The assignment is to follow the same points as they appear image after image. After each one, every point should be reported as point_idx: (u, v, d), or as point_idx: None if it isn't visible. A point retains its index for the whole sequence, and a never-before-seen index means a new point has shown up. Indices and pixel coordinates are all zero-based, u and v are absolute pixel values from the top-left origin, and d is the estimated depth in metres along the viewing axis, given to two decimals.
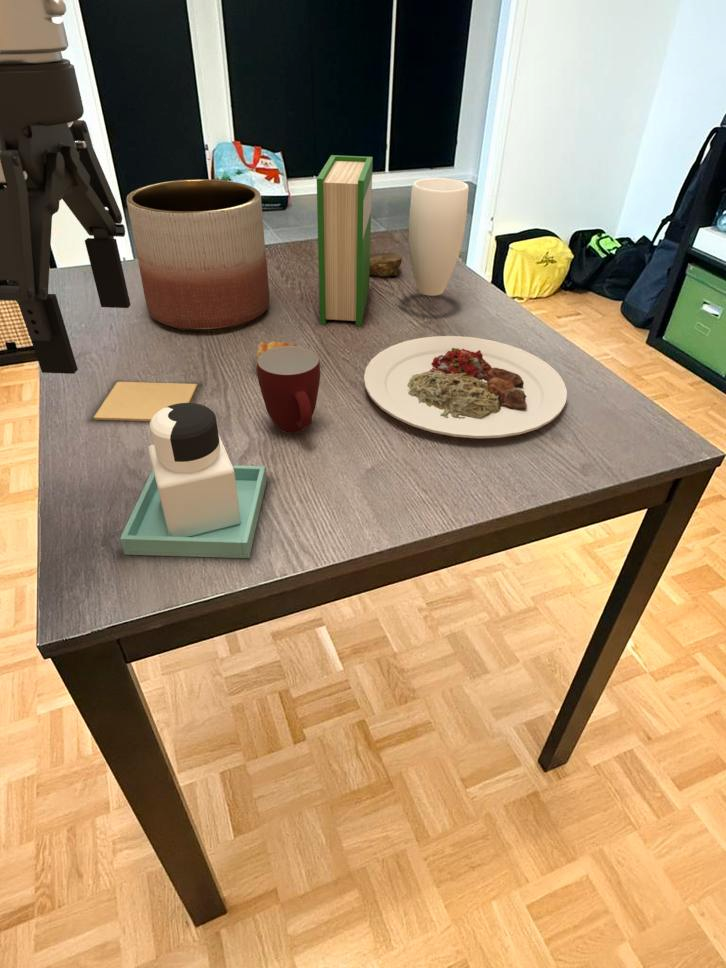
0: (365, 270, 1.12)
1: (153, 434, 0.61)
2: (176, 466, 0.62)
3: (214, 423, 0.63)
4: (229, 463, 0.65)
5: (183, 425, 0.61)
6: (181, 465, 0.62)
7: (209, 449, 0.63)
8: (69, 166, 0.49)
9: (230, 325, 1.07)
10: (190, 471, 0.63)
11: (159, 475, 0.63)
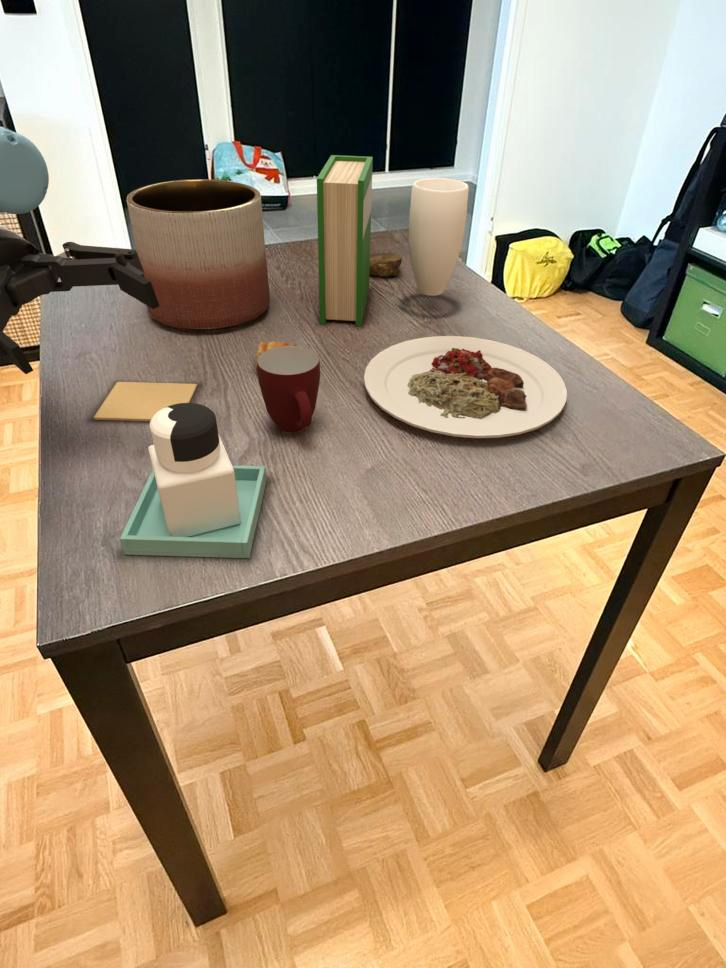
0: (365, 270, 1.12)
1: (153, 434, 0.61)
2: (176, 466, 0.62)
3: (214, 423, 0.63)
4: (229, 463, 0.65)
5: (183, 425, 0.61)
6: (181, 465, 0.62)
7: (209, 449, 0.63)
8: None
9: (230, 325, 1.07)
10: (190, 471, 0.63)
11: (159, 475, 0.63)
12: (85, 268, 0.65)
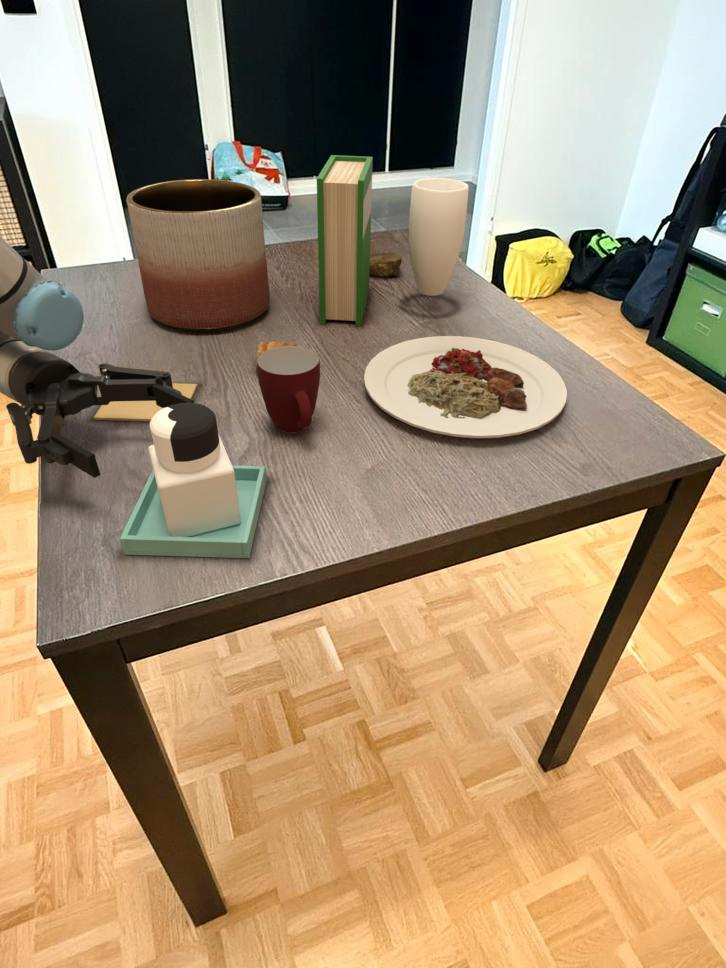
0: (365, 270, 1.12)
1: (153, 434, 0.61)
2: (176, 466, 0.62)
3: (214, 423, 0.63)
4: (229, 463, 0.65)
5: (183, 425, 0.61)
6: (181, 465, 0.62)
7: (209, 449, 0.63)
8: None
9: (230, 325, 1.07)
10: (190, 471, 0.63)
11: (159, 475, 0.63)
12: (126, 387, 0.76)
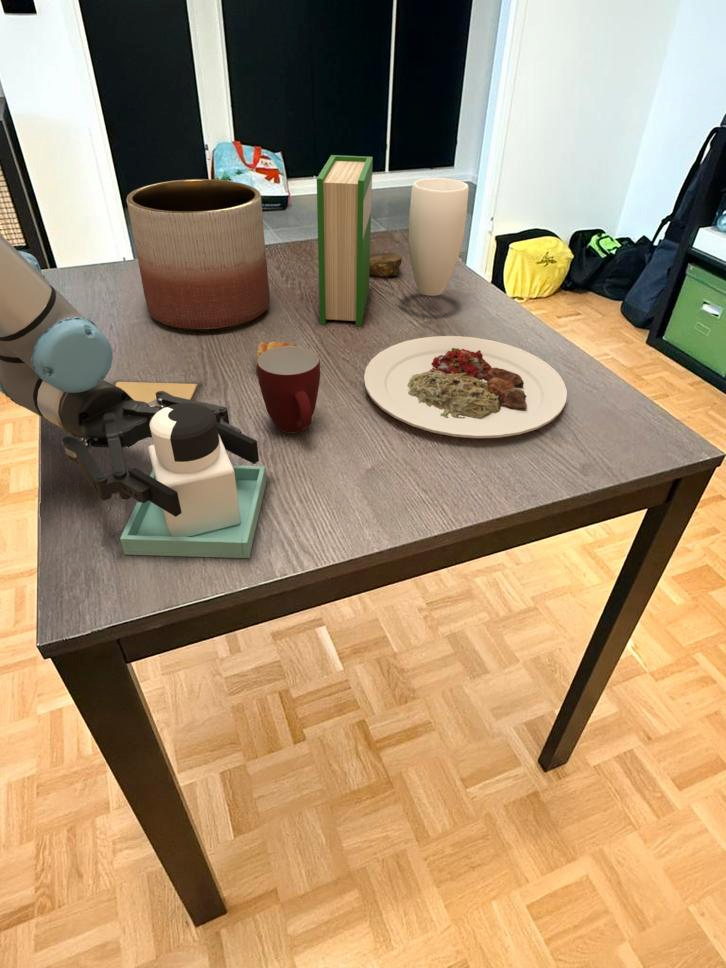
0: (365, 270, 1.12)
1: (153, 434, 0.61)
2: (176, 466, 0.62)
3: (214, 423, 0.63)
4: (229, 463, 0.65)
5: (183, 425, 0.61)
6: (181, 465, 0.62)
7: (209, 449, 0.63)
8: None
9: (230, 325, 1.07)
10: (190, 471, 0.63)
11: (159, 475, 0.63)
12: None
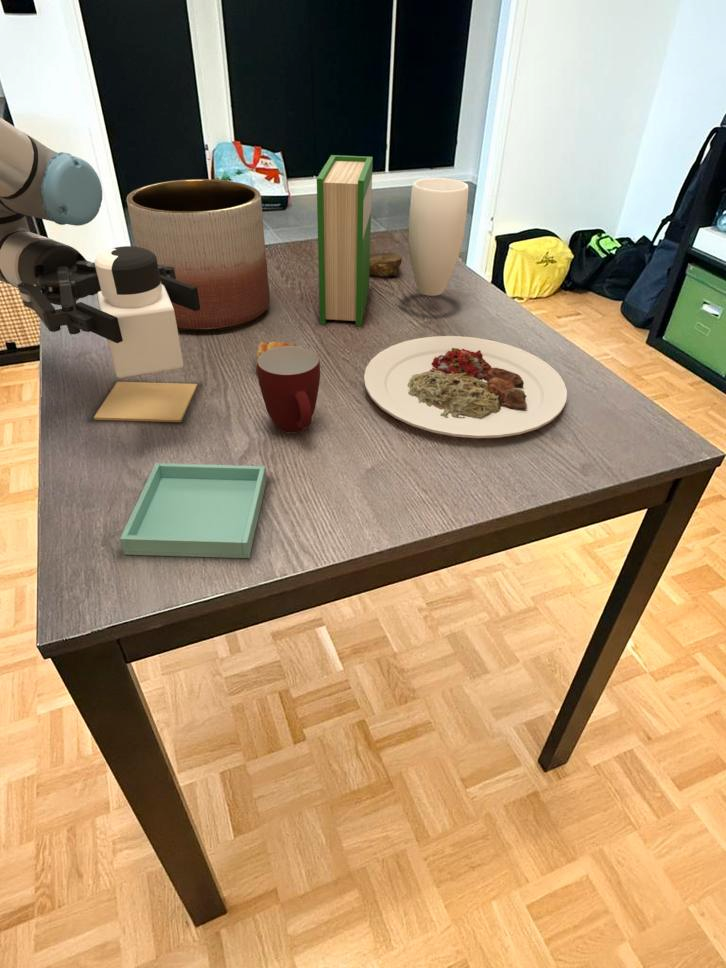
0: (365, 270, 1.12)
1: (97, 268, 0.67)
2: (119, 300, 0.68)
3: (154, 261, 0.68)
4: (169, 303, 0.70)
5: (124, 258, 0.67)
6: (123, 298, 0.68)
7: (149, 286, 0.68)
8: None
9: (230, 325, 1.07)
10: (132, 306, 0.69)
11: (104, 309, 0.69)
12: None
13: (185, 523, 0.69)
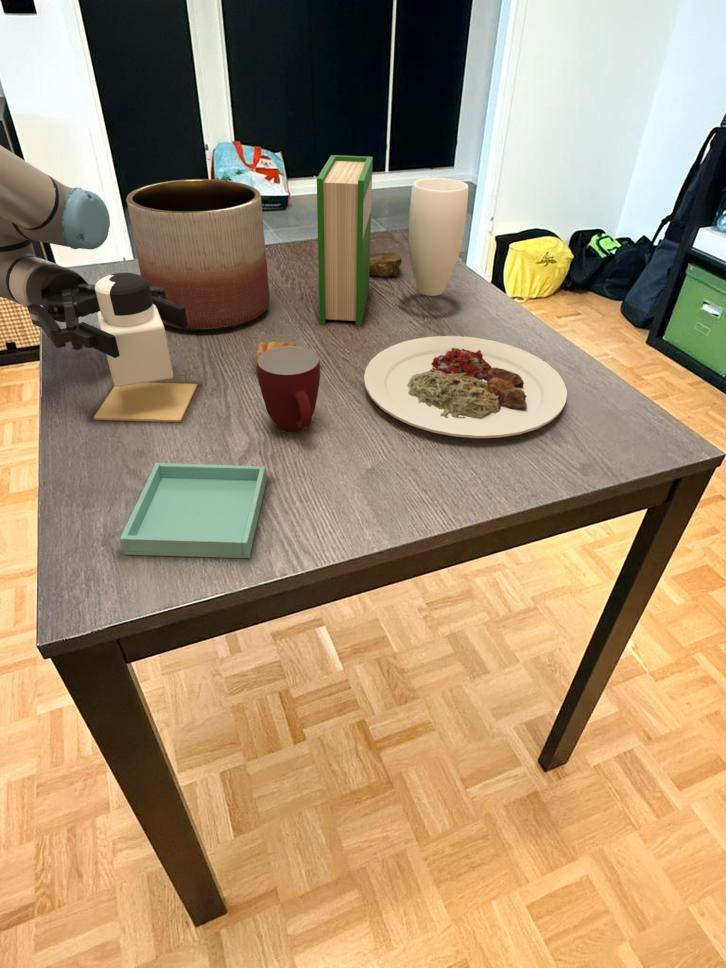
0: (365, 270, 1.12)
1: (97, 292, 0.77)
2: (116, 320, 0.78)
3: (146, 286, 0.79)
4: (160, 322, 0.81)
5: (120, 284, 0.77)
6: (120, 319, 0.78)
7: (142, 307, 0.79)
8: None
9: (230, 325, 1.07)
10: (128, 325, 0.79)
11: (103, 328, 0.79)
12: None
13: (185, 523, 0.69)
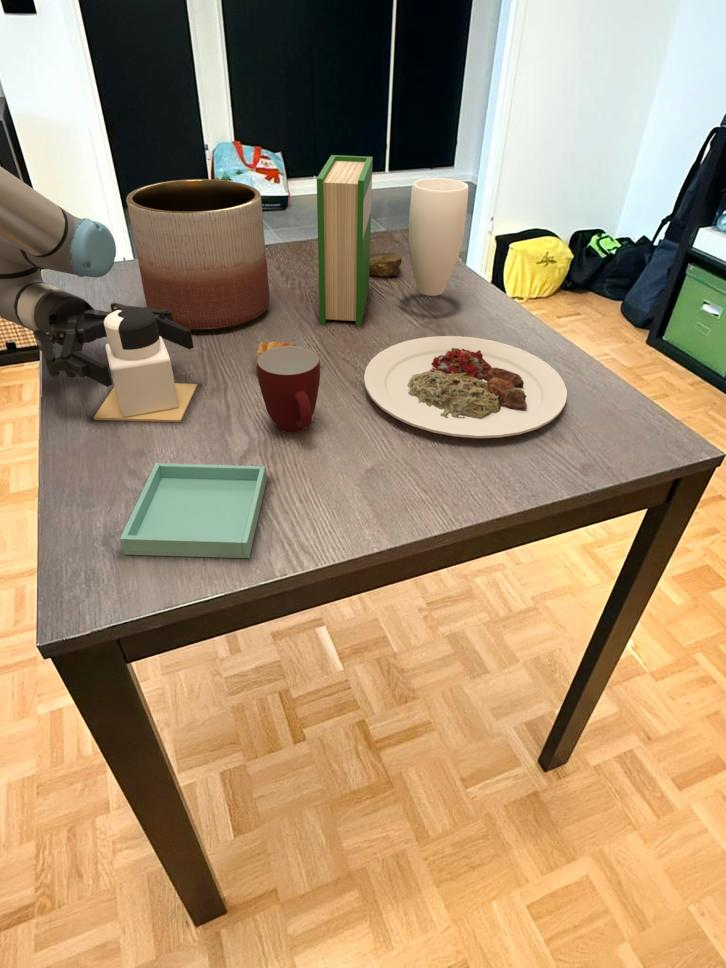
0: (365, 270, 1.12)
1: (106, 327, 0.80)
2: (124, 353, 0.81)
3: (153, 321, 0.81)
4: (167, 355, 0.84)
5: (128, 320, 0.80)
6: (128, 353, 0.81)
7: (150, 341, 0.82)
8: None
9: (230, 325, 1.07)
10: (135, 358, 0.82)
11: (111, 361, 0.82)
12: None
13: (185, 523, 0.69)
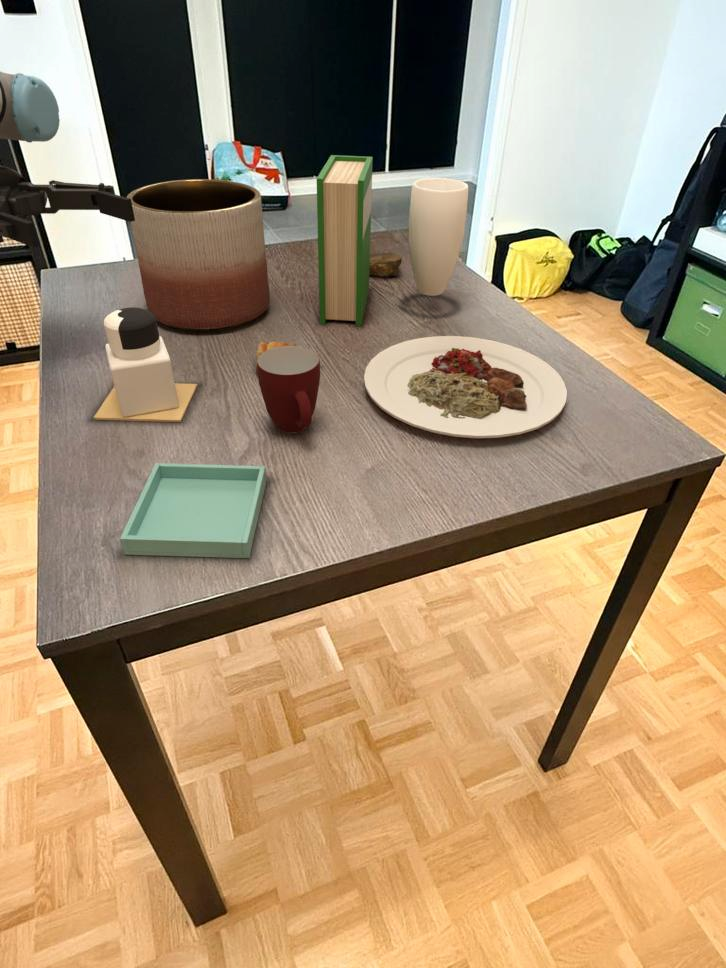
0: (365, 270, 1.12)
1: (106, 327, 0.80)
2: (124, 353, 0.81)
3: (153, 321, 0.81)
4: (167, 355, 0.84)
5: (128, 320, 0.80)
6: (128, 353, 0.81)
7: (150, 341, 0.82)
8: (16, 214, 0.83)
9: (230, 325, 1.07)
10: (135, 358, 0.82)
11: (111, 361, 0.82)
12: (72, 194, 0.84)
13: (185, 523, 0.69)
